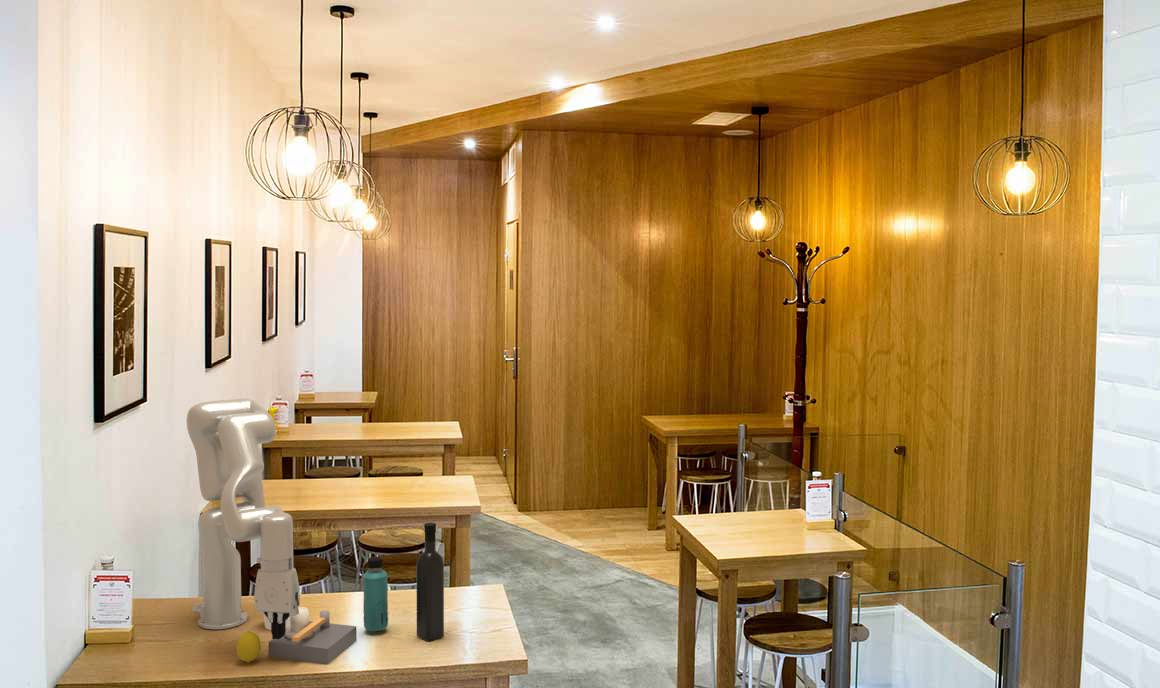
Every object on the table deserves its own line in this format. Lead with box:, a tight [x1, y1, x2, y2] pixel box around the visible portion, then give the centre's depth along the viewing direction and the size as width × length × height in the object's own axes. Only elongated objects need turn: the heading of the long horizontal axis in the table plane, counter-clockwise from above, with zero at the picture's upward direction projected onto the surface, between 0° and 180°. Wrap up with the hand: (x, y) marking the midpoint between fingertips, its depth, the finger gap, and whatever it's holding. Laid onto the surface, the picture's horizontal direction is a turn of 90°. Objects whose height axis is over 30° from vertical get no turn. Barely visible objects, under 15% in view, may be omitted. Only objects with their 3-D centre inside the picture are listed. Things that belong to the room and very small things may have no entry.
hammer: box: [292, 610, 331, 642], centre depth 235 cm, size 16×2×4 cm, turn 166°
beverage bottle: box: [362, 556, 389, 632], centre depth 248 cm, size 6×7×20 cm
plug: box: [285, 606, 314, 640], centre depth 236 cm, size 7×7×10 cm
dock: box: [268, 620, 358, 665], centre depth 237 cm, size 16×15×4 cm
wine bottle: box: [416, 522, 445, 642], centre depth 245 cm, size 6×6×30 cm
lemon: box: [236, 630, 262, 664], centre depth 228 cm, size 6×6×8 cm
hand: (278, 637), depth 231 cm, fingers closed
